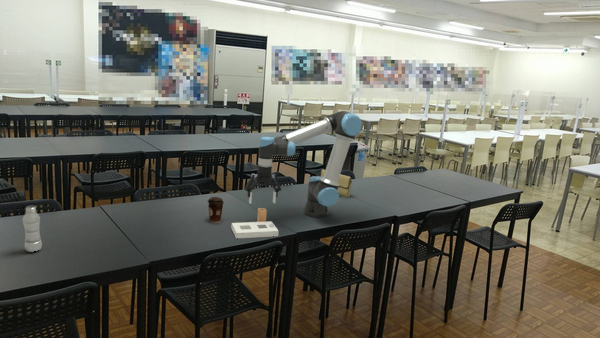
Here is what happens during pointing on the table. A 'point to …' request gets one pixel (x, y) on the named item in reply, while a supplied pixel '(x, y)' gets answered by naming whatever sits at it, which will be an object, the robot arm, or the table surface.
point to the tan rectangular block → (261, 215)
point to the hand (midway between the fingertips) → (262, 202)
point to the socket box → (254, 229)
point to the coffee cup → (215, 209)
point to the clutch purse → (341, 184)
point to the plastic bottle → (32, 229)
